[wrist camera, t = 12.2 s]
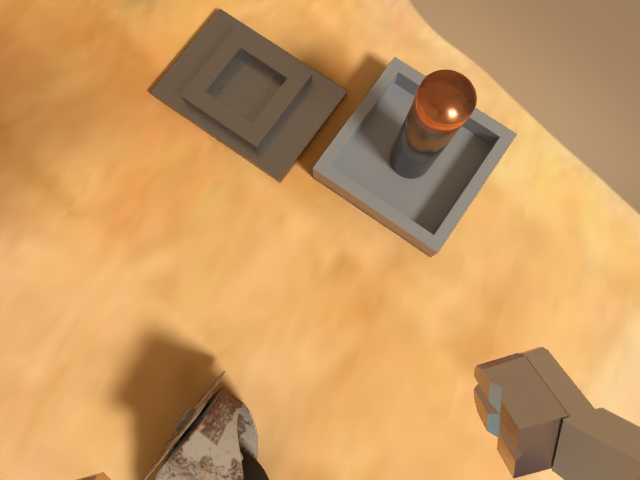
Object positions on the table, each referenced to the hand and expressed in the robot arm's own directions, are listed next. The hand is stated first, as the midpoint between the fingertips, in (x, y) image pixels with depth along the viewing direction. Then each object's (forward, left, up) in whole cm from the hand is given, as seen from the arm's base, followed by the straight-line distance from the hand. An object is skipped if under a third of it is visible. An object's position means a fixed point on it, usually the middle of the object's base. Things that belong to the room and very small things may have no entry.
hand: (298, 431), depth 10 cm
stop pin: (-3, +18, -28) cm, 33 cm away
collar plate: (-18, +15, -28) cm, 37 cm away
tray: (-3, +18, -28) cm, 34 cm away
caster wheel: (-1, -11, -29) cm, 31 cm away
